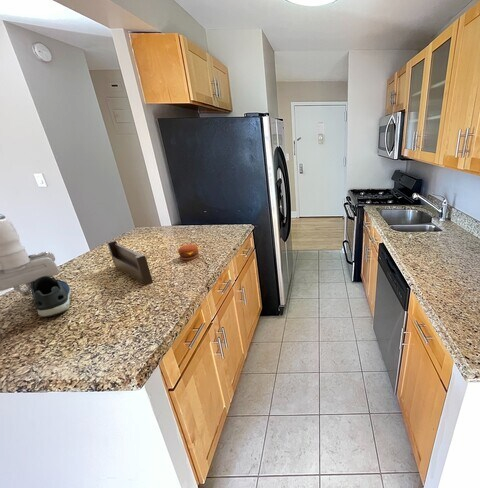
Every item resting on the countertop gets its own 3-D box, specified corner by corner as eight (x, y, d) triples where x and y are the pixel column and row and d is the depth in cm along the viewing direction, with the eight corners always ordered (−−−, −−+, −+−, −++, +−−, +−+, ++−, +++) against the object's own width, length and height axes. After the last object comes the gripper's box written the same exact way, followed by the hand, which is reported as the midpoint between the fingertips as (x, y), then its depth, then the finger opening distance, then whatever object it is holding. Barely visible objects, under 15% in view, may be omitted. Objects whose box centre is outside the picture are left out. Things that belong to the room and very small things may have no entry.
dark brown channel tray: (145, 285, 111) (136, 258, 106) (115, 266, 128) (106, 242, 123) (153, 282, 113) (145, 255, 108) (122, 264, 130) (114, 240, 125)
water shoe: (66, 283, 112) (59, 258, 109) (82, 310, 95) (73, 282, 92) (31, 292, 105) (21, 266, 101) (40, 322, 88) (30, 292, 84)
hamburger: (187, 252, 143) (185, 241, 140) (203, 254, 141) (201, 242, 139) (175, 260, 134) (172, 248, 132) (191, 261, 132) (189, 249, 130)
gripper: (49, 248, 98) (63, 280, 103) (-40, 269, 82) (-18, 305, 87) (53, 252, 94) (68, 285, 99) (-39, 274, 79) (-16, 312, 84)
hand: (27, 294), depth 93 cm, fingers closed, pressing on water shoe
